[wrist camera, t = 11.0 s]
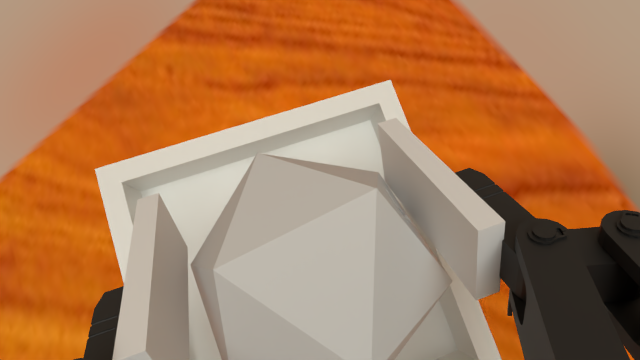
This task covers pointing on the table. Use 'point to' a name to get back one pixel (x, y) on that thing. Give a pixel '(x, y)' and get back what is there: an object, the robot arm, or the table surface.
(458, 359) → the tray
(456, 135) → the table surface
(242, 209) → the die
